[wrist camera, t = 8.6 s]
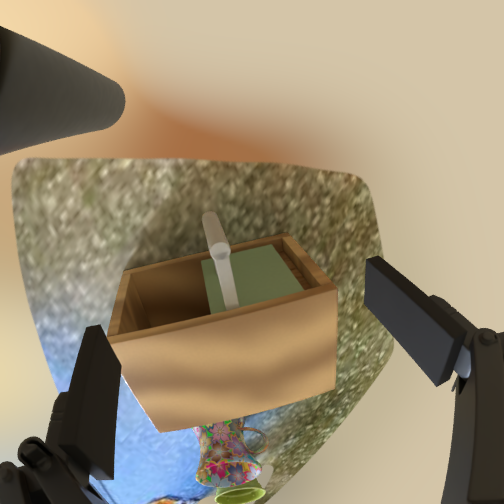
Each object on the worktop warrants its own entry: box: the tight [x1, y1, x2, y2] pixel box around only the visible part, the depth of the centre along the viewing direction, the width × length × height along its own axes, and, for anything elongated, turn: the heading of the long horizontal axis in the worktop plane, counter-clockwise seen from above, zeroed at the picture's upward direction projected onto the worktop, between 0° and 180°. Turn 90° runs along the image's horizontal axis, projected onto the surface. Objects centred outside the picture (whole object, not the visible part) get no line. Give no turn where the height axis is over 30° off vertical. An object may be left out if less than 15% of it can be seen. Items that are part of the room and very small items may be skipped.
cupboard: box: [107, 232, 338, 433], centre depth 30 cm, size 12×18×12 cm
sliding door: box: [201, 211, 304, 314], centre depth 27 cm, size 6×7×10 cm
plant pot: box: [214, 478, 266, 504], centre depth 48 cm, size 9×9×9 cm
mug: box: [192, 417, 269, 487], centre depth 40 cm, size 12×9×11 cm
